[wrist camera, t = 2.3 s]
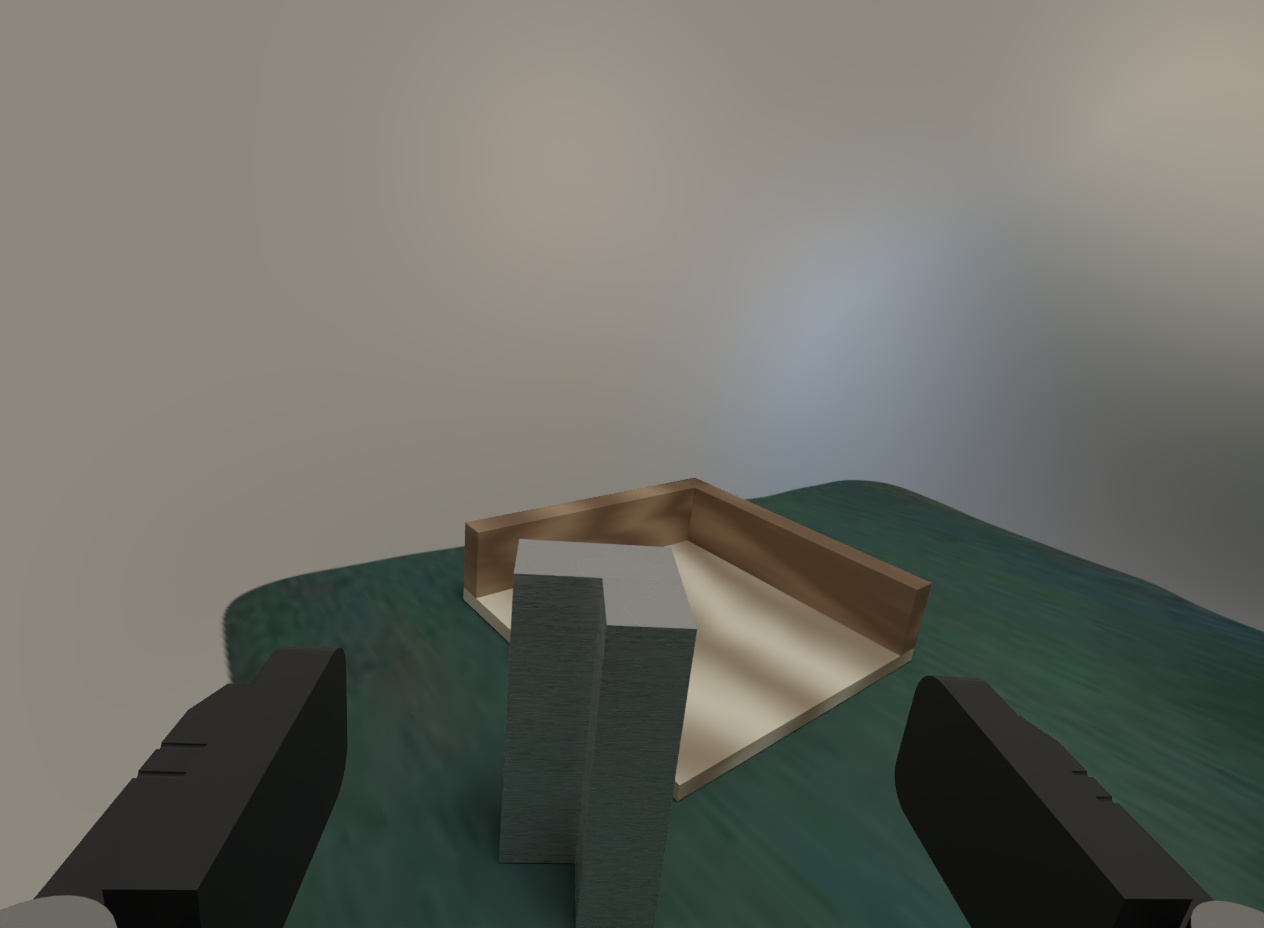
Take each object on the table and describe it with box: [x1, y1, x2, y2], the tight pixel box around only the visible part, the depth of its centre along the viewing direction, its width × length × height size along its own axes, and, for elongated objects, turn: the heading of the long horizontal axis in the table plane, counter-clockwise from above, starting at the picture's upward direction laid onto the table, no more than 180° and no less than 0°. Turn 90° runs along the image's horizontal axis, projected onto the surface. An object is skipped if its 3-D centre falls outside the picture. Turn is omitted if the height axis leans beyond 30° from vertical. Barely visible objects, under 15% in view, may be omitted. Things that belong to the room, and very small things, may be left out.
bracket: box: [499, 539, 697, 928], centre depth 22 cm, size 5×5×11 cm
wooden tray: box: [463, 478, 931, 802], centre depth 38 cm, size 18×18×5 cm
